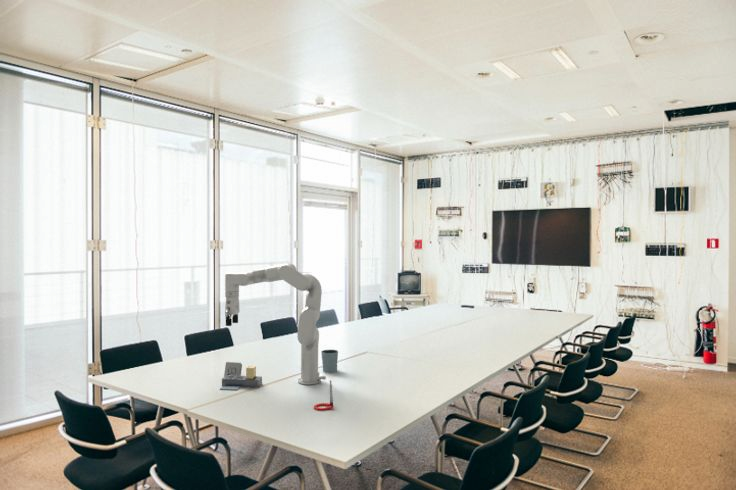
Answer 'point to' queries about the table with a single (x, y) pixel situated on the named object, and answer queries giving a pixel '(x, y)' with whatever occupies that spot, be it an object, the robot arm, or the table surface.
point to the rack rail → (241, 381)
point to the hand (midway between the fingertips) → (231, 324)
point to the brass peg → (251, 372)
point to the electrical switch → (233, 369)
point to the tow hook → (330, 405)
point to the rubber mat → (230, 388)
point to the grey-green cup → (329, 360)
